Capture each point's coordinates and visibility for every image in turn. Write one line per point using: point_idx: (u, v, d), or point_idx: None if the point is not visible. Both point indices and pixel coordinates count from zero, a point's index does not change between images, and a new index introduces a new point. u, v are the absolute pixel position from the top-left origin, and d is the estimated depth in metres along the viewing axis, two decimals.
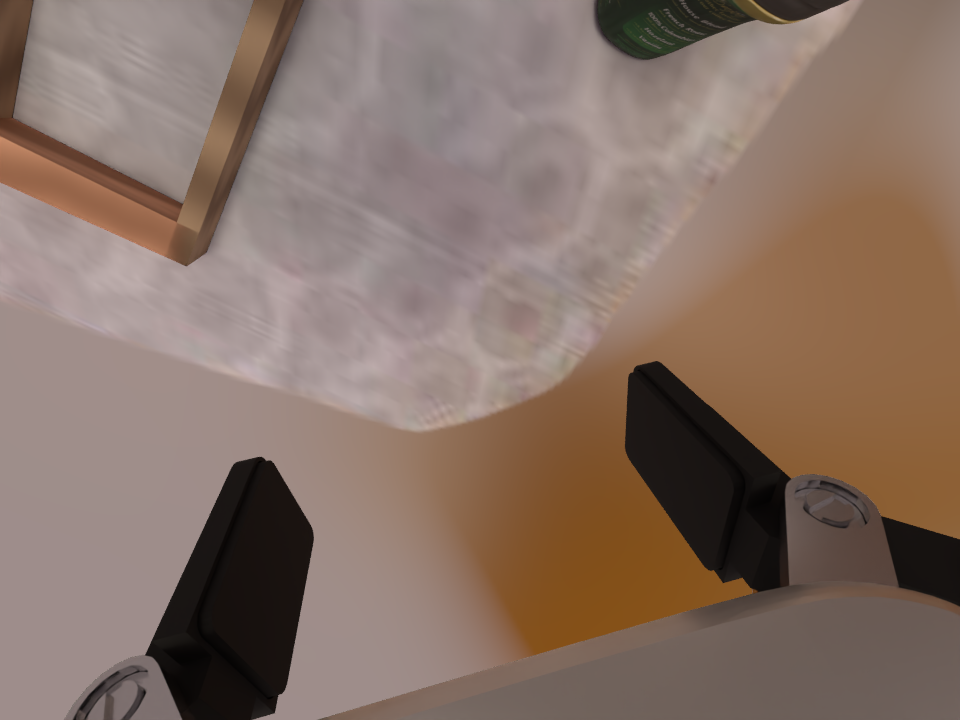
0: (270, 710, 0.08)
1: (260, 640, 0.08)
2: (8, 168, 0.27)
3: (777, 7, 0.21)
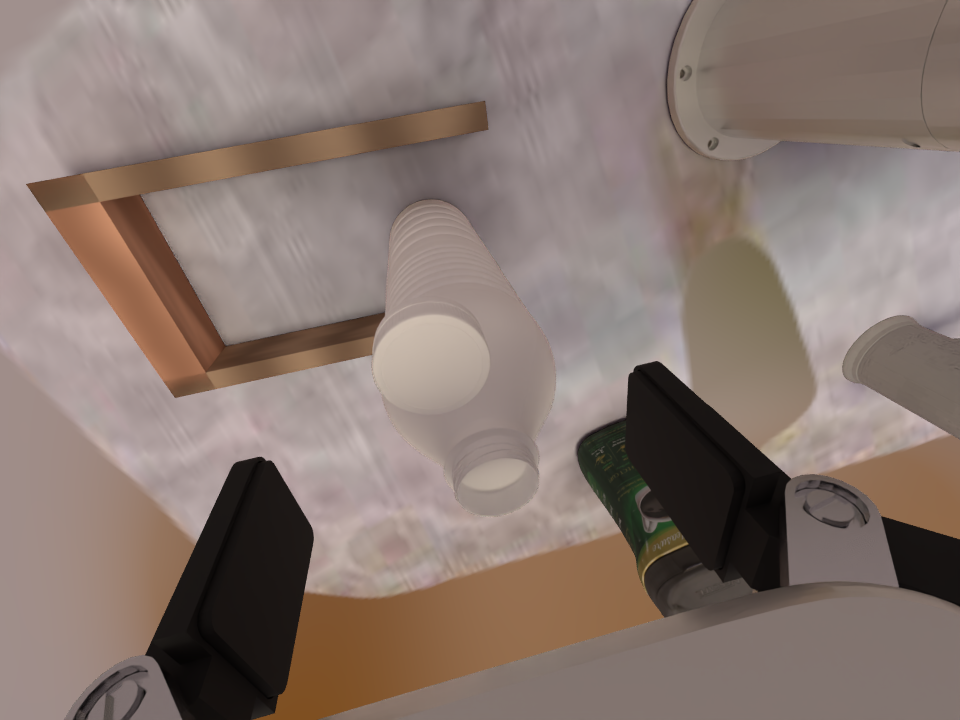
0: (270, 709, 0.08)
1: (260, 640, 0.08)
2: (95, 250, 0.25)
3: (650, 596, 0.34)
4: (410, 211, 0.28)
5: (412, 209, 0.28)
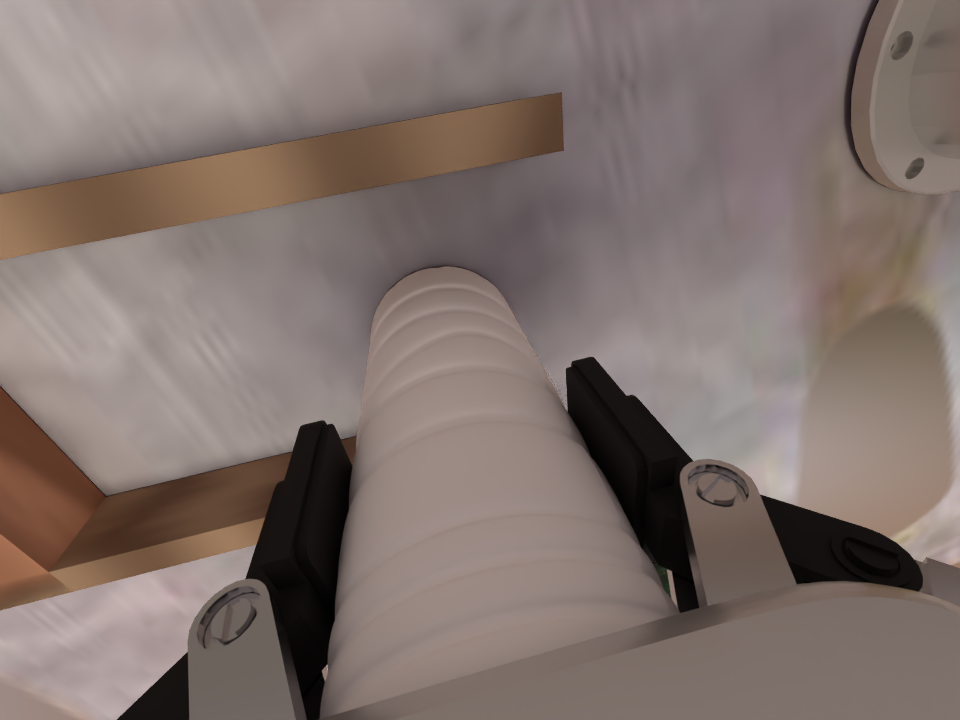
0: None
1: None
2: None
3: None
4: (406, 296, 0.15)
5: (409, 292, 0.16)
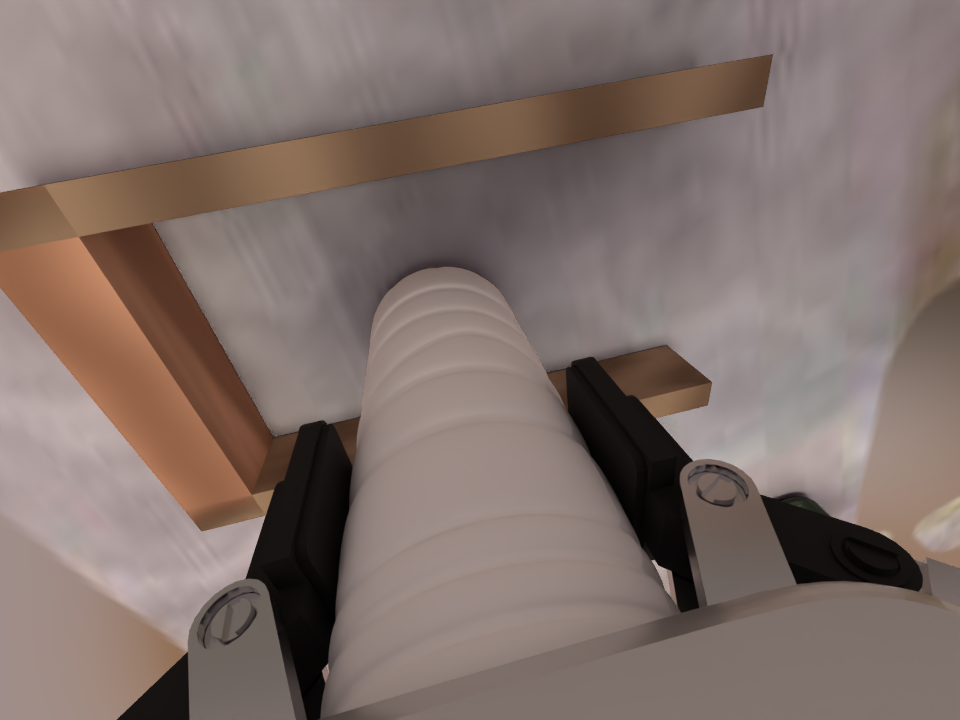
0: None
1: None
2: (71, 321, 0.14)
3: None
4: (406, 296, 0.15)
5: (410, 292, 0.16)
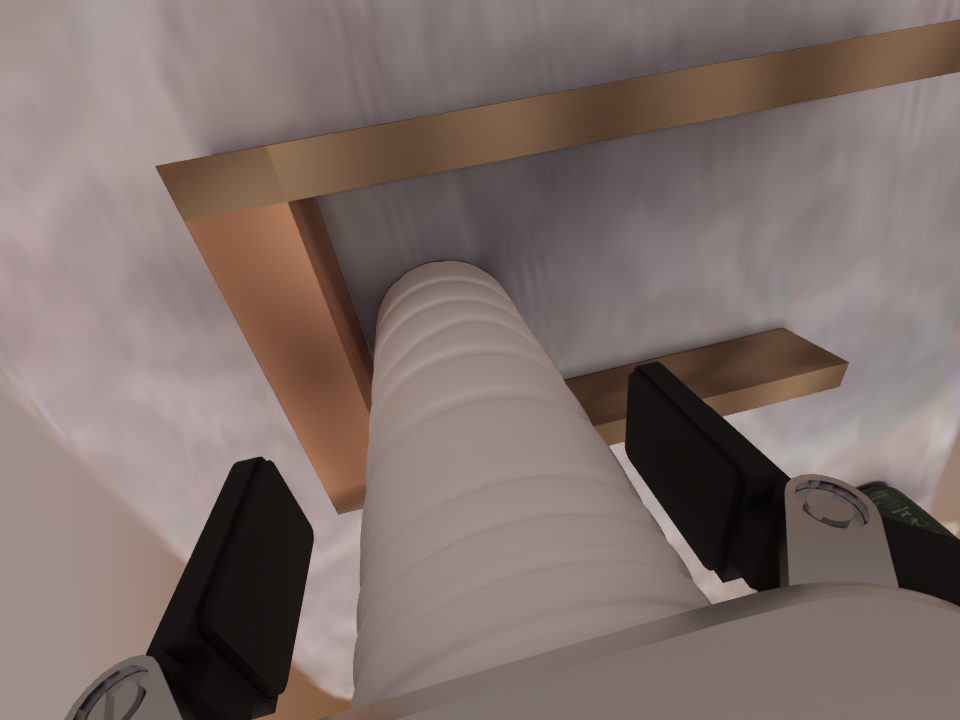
0: (271, 709, 0.08)
1: (260, 640, 0.08)
2: (262, 292, 0.13)
3: None
4: (412, 288, 0.16)
5: (415, 284, 0.16)
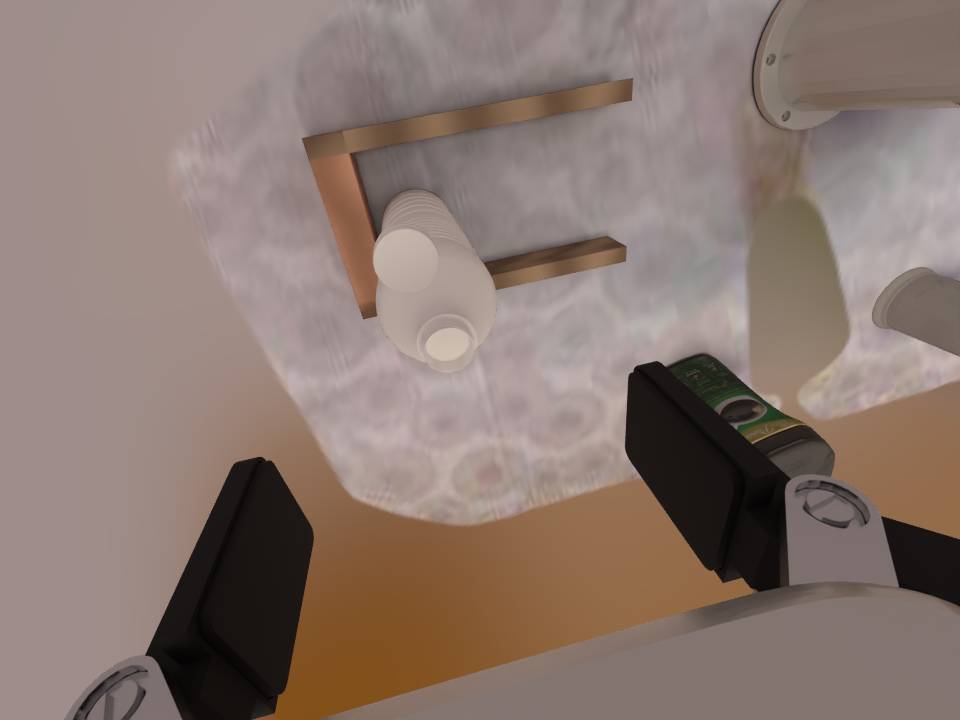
0: (270, 710, 0.08)
1: (260, 640, 0.08)
2: (336, 192, 0.32)
3: None
4: (399, 198, 0.35)
5: (400, 196, 0.35)
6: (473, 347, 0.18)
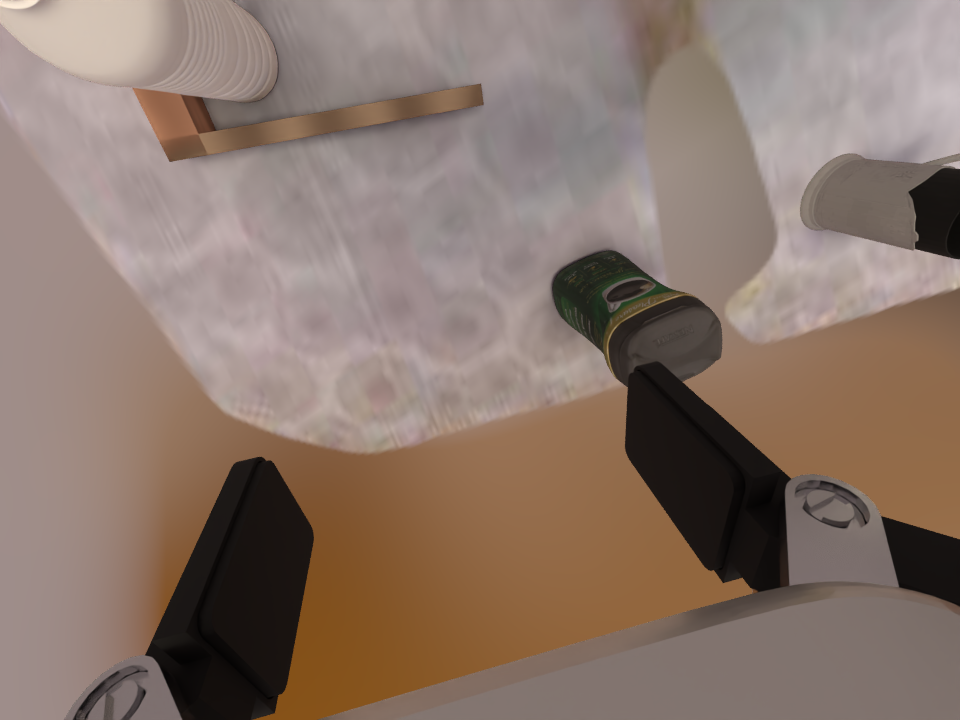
0: (270, 710, 0.08)
1: (260, 640, 0.08)
2: None
3: (614, 370, 0.37)
4: None
5: None
6: None
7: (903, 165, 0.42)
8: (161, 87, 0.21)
